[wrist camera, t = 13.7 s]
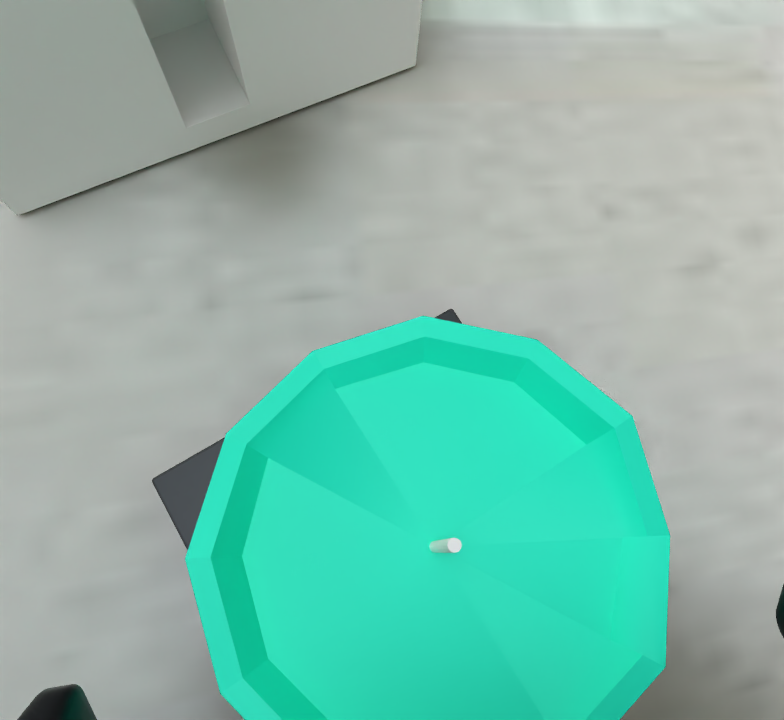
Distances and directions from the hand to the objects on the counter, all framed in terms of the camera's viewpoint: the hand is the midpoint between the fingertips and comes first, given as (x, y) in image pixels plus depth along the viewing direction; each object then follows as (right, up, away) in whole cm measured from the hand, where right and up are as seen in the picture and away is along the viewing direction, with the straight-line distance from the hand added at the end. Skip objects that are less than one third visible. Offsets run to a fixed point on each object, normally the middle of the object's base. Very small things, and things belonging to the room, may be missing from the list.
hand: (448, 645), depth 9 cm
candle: (-1, -1, +10) cm, 10 cm away
